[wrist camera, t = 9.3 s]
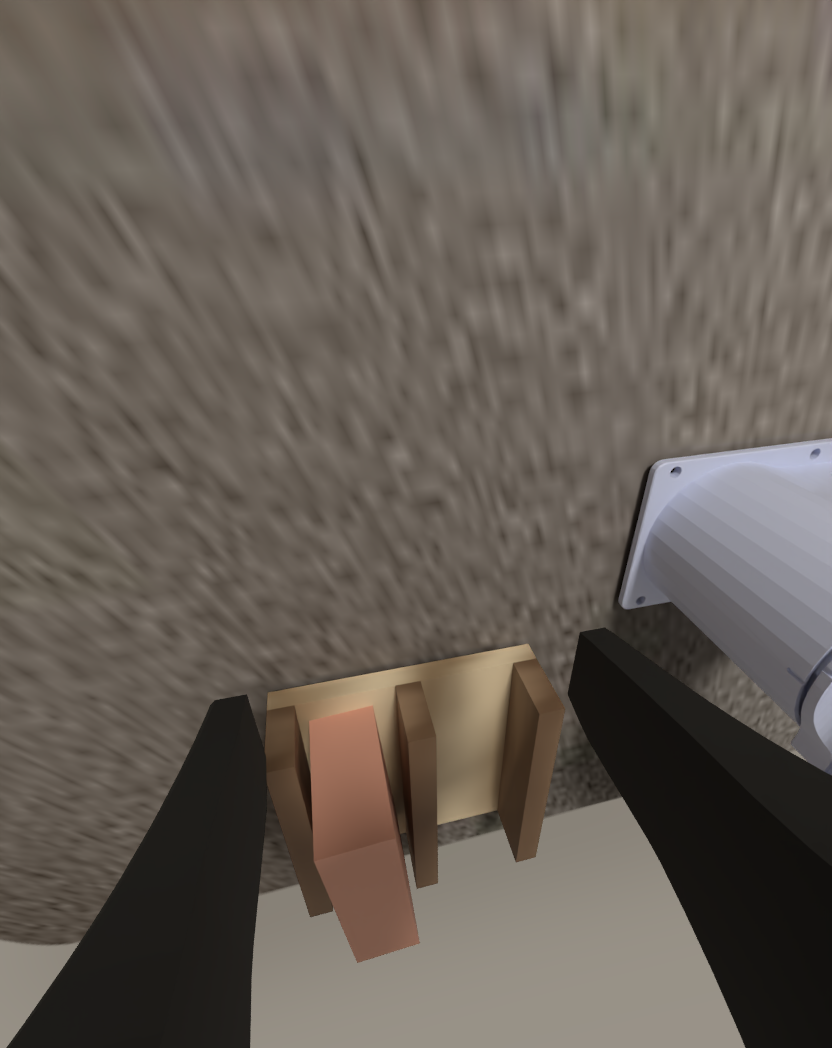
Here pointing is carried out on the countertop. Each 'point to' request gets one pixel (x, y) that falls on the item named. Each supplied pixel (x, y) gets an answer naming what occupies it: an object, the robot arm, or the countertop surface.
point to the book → (359, 834)
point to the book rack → (427, 752)
